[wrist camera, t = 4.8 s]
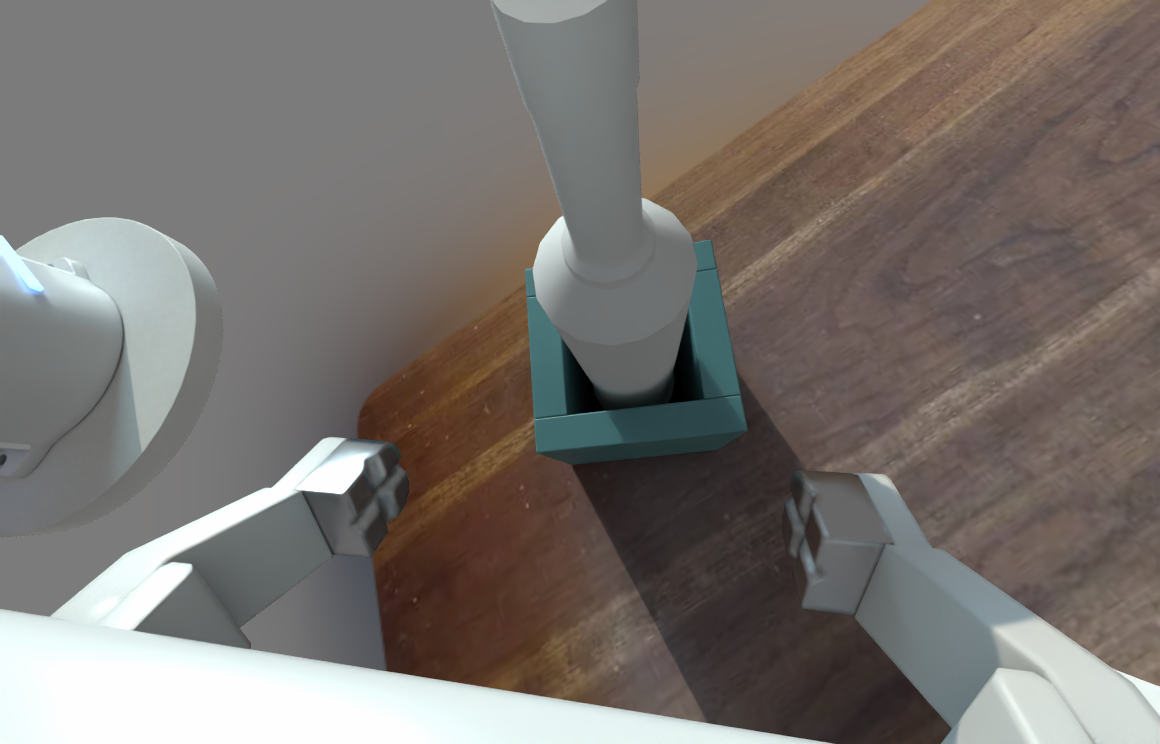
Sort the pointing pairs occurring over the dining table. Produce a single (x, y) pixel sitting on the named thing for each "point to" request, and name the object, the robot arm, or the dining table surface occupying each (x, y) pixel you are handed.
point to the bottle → (600, 198)
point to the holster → (647, 429)
